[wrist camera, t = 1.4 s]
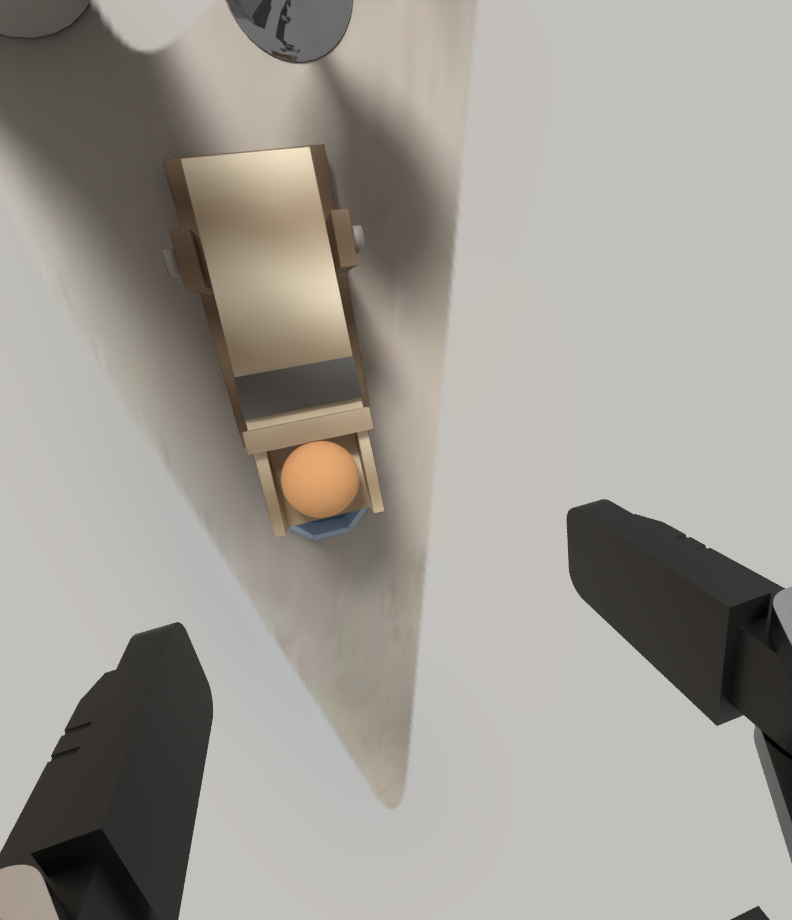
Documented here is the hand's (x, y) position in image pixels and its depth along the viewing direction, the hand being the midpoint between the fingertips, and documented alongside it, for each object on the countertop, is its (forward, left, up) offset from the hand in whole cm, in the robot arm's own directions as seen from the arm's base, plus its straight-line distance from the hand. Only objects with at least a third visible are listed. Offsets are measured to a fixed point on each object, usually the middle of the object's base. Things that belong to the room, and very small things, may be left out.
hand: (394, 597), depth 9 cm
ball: (0, -2, -12) cm, 12 cm away
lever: (-3, +3, -16) cm, 16 cm away
